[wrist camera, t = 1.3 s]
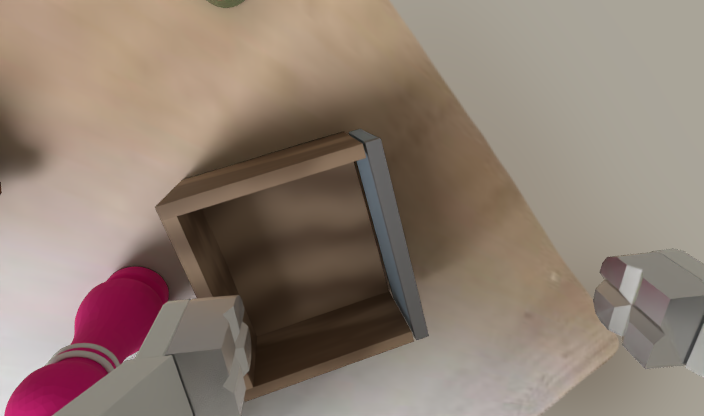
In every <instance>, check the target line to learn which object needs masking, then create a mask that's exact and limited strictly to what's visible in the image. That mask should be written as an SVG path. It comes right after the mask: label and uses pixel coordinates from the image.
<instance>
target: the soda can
mask: <svg viewBox="0 0 704 416" xmlns="http://www.w3.org/2000/svg"><path fill="white" fill-rule="evenodd" d="M207 1H208V2H209V3H211V4H213V5H215V6H218V7H222V8H230V7H235V6H237V5H239V4H241V3H242V2H243V1H244V0H207Z"/></svg>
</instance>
